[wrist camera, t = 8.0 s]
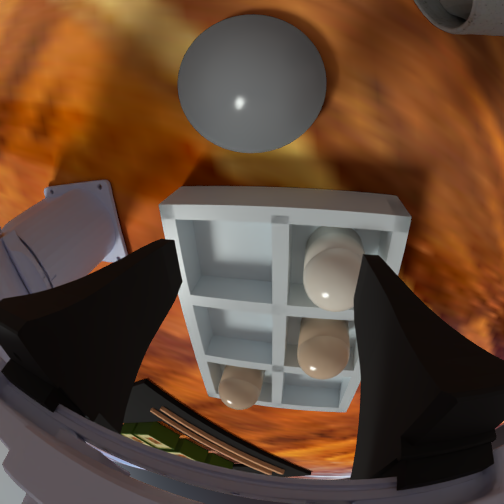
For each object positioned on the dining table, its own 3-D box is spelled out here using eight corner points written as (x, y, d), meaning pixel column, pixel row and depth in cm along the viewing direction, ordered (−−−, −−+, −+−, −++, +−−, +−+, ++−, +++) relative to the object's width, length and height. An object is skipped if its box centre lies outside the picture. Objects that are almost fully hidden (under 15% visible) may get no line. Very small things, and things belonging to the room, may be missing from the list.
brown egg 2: (299, 338, 24) (292, 387, 20) (302, 304, 22) (296, 355, 18) (344, 341, 23) (344, 390, 19) (352, 307, 21) (356, 359, 17)
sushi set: (311, 468, 50) (309, 485, 46) (194, 469, 71) (190, 480, 68) (148, 374, 38) (136, 397, 34) (76, 397, 59) (69, 409, 55)
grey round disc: (190, 152, 18) (184, 155, 18) (181, 29, 14) (174, 27, 13) (325, 152, 17) (326, 155, 16) (322, 17, 12) (322, 12, 11)
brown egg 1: (229, 372, 29) (216, 412, 25) (225, 349, 27) (209, 392, 23) (266, 377, 28) (256, 419, 24) (265, 355, 26) (254, 400, 22)
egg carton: (217, 372, 31) (208, 396, 28) (181, 186, 20) (158, 204, 17) (346, 386, 28) (345, 412, 25) (396, 195, 17) (411, 216, 14)
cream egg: (304, 272, 20) (299, 323, 16) (306, 221, 18) (302, 266, 14) (358, 275, 19) (366, 327, 15) (366, 225, 17) (380, 270, 13)
